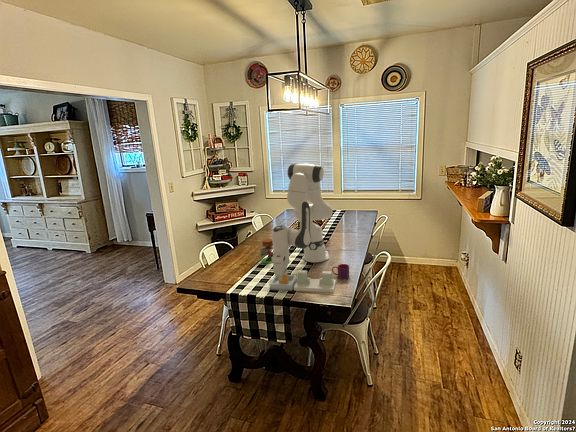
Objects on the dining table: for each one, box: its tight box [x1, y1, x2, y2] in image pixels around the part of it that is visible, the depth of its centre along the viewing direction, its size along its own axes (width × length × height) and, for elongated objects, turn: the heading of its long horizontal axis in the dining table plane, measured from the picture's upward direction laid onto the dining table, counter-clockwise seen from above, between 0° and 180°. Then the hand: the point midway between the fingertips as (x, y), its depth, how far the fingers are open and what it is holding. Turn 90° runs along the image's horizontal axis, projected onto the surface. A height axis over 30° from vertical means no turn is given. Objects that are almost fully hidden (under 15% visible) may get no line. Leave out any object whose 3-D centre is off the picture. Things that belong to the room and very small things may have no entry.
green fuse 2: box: [321, 270, 333, 285], centre depth 179 cm, size 3×5×7 cm, turn 76°
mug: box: [331, 263, 350, 280], centre depth 192 cm, size 7×10×7 cm
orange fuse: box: [278, 270, 289, 284], centre depth 186 cm, size 3×5×7 cm, turn 76°
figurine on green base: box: [259, 238, 274, 264], centre depth 225 cm, size 12×13×15 cm
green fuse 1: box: [297, 269, 308, 284], centre depth 183 cm, size 3×5×7 cm, turn 76°
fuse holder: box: [293, 276, 337, 293], centre depth 182 cm, size 12×22×5 cm, turn 76°
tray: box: [269, 274, 298, 292], centre depth 187 cm, size 13×13×4 cm
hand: (283, 276), depth 186 cm, fingers open, 8 cm apart
